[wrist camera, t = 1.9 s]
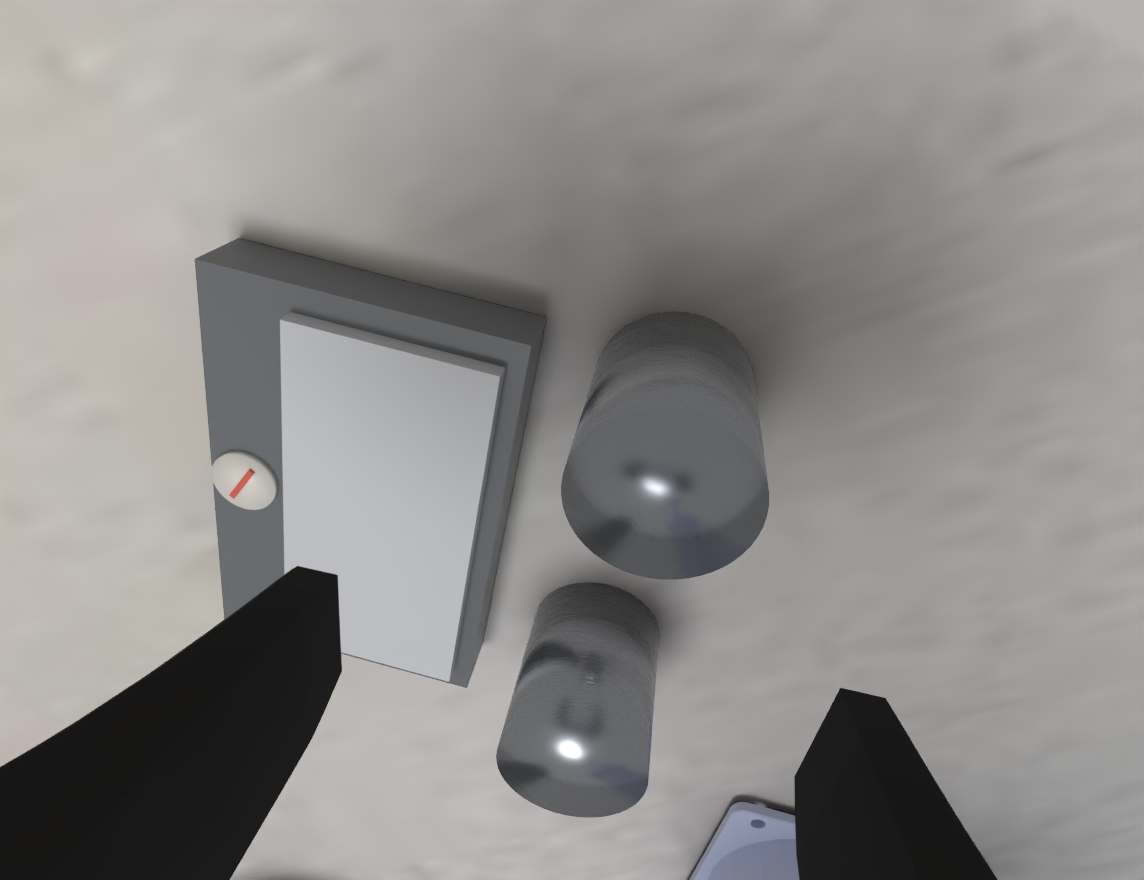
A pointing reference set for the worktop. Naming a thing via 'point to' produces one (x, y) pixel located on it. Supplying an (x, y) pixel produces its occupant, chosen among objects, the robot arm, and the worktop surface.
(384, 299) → the scale
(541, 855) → the worktop surface
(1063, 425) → the worktop surface
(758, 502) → the cylinder
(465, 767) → the worktop surface
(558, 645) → the cylinder
